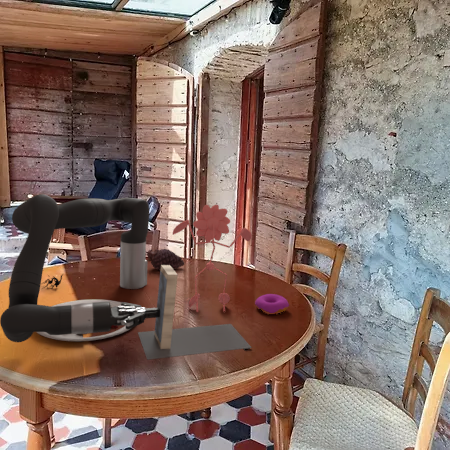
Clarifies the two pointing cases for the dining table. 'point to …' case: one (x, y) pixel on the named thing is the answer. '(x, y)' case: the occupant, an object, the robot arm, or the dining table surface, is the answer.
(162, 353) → the rubber mat
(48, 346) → the dining table surface
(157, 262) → the pine cone
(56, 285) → the creature
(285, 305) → the donut
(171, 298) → the birch picture frame
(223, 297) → the figurine
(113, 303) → the plated food
